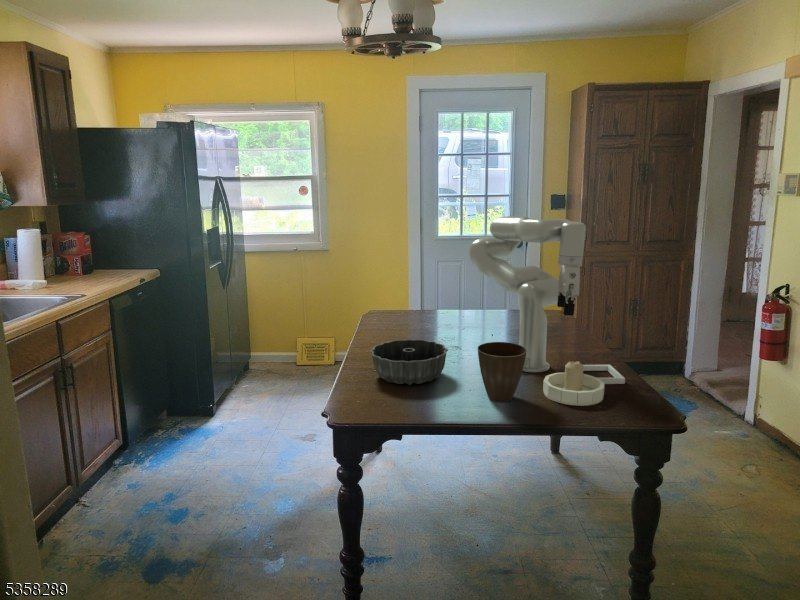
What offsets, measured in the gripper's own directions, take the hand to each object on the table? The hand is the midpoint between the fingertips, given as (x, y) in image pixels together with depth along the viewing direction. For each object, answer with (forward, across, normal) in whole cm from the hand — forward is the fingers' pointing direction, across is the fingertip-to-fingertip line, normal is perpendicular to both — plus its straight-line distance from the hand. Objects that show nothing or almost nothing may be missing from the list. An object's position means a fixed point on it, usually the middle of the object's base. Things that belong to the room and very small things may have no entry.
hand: (565, 310), depth 194 cm
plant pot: (+24, -19, +22) cm, 38 cm away
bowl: (+23, -16, -1) cm, 28 cm away
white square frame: (+23, +1, -13) cm, 27 cm away
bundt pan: (+26, -1, +51) cm, 57 cm away
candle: (+22, -16, -1) cm, 27 cm away
